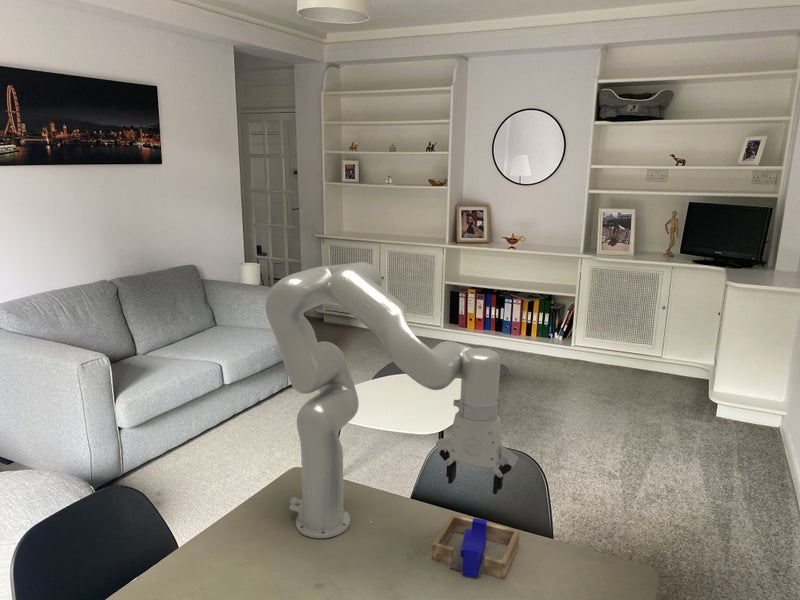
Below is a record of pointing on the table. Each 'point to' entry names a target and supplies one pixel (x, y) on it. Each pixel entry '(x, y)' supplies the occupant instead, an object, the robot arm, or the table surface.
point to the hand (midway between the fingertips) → (473, 485)
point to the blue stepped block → (473, 547)
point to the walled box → (487, 563)
